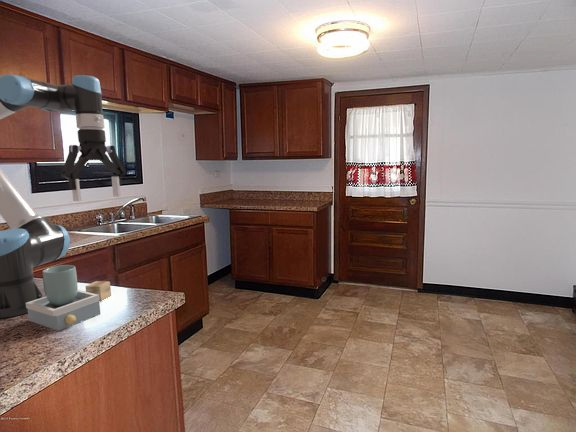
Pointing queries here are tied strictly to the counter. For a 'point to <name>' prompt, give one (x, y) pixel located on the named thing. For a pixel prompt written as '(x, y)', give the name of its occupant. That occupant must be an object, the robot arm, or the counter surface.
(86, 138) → the robot arm
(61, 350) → the counter surface
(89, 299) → the grey drawer box
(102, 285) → the oak block
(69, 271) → the cup
